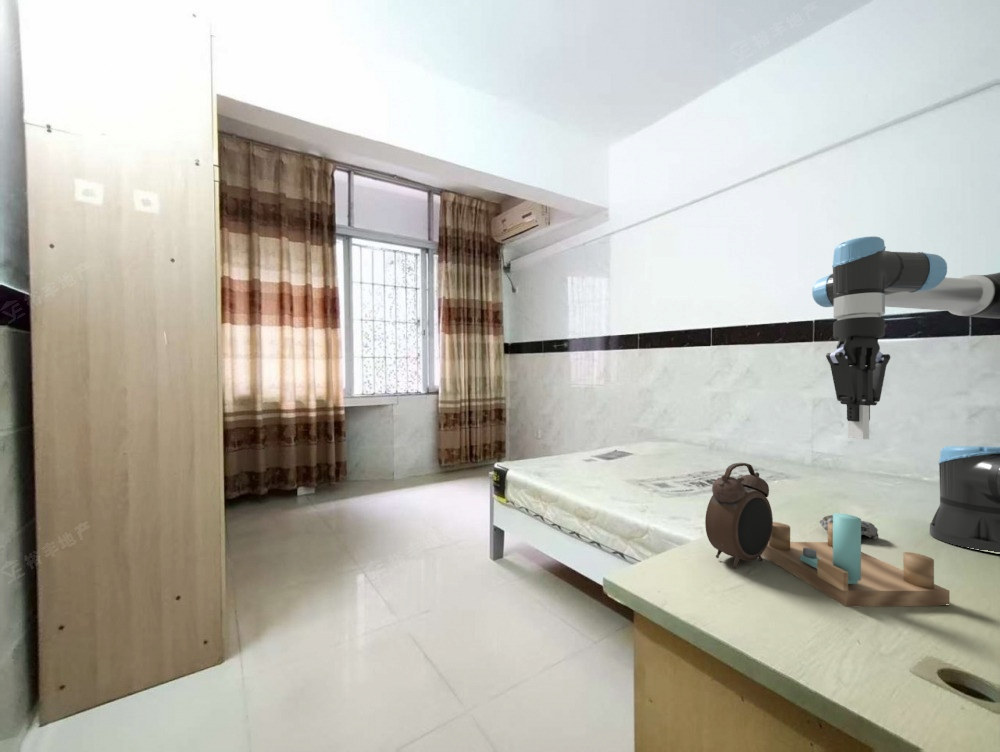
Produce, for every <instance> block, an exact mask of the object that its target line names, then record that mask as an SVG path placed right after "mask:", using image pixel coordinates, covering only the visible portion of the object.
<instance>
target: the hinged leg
mask: <svg viewBox="0 0 1000 752" xmlns="http://www.w3.org/2000/svg"><path fill="white" fill-rule="evenodd" d="M832 515H833V565H834V566H836V567H838V568H840V569H842V570H844V571H846V572H848V584H858V581H860V580H861V552H862V535H861V521H862V518H860V517H858V516H856V515H851V514H848V513H841V512H839V513H838V512H836V513H832ZM817 559H820V558H818V557H817V551H816V550H814V549H810V548H803V555H800V560H802V561H803V562H805V563H807V564H809V565H811V566H812V567H814V568H816V569H817Z"/></svg>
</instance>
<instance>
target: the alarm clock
mask: <svg viewBox="0 0 1000 752" xmlns="http://www.w3.org/2000/svg"><path fill="white" fill-rule="evenodd" d="M738 467H746V468H747V470H748V473H749V474H743V475H741V476H740V477H737V478H736V477H733V476H731V474H732V472H733V470H735V469H736V468H738ZM711 491H712V496H711V497H710V500H709V502H708V504H707V507H706V511H705V519H704V520H705V522H704V524H705V532H706V536H707V539H708V541H709V543H710V545H712V547H713V548H714V549H716V550H717V553H716V555H715V558H716V559H719V558H720V555H721V554H722V553H724V554H725V555H727V556H730V557H733V558H734V561H733V564H732V567H733V568H734V569H737V565H738V564H739V561H740V560H742V561H748V562H752V561H755V560H757V559H758V560H759V561H760V562H761V561H763V557H762V555H761V554H762V553H763V552H764V550H765V549H766V547H767V545H768V543H769V540H770V537H771V533H772V527H773V522H774V518H773V512H772V507H771V504H770V501H769V499H768V497H769V495H770V487H769V484H768V482H767V481H766V480H764V479H763V478H762V477H760V472H758V471H756V472H755V470H754V467H753V466H752V465H751V463H750V464H749V463H746V462H736V463H735V462H734V463H732V464H731V465H728V466H727V468H726V470H725V472H724V474H723V475H721V477H717V479H715V481H713V483H712V486H711Z"/></svg>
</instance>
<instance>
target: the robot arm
mask: <svg viewBox="0 0 1000 752" xmlns="http://www.w3.org/2000/svg"><path fill="white" fill-rule="evenodd" d="M832 259H833V260H832V265H831V267H832V273H831V274H829V275H827V276H825V277H822V278H819V279H818V280H816V282H814V284H813V286H812V294H811V296H812V298H813V300H814V302H815V303H816V304H817V305H818V306H821V307H823V308H831V307H832V308H833V319H835V321H834V322H833V325H832V326H833V327H832V328H833V329H832V330H833V331H832V333H833V334H832V337H833V339H834V340H838V342H837V345H836V350H835V351H833V352H827V353H826V355H825V357H826V360H827V362H828V364H829V366H830V371H831V375H832V381H833V386H834V390H835V396H836V400H837V401H838V402H839V403H840V404H841V405H846V420H847V438H851V439H856V440H857V439H859V440H870V419H871V406H876V405H878V402H880V401H881V396H882V390H883V387H884V386H883V385H884V380H885V376H886V368H887V365H888V363H889V362H890V360H891V354H889V353H882V352H881V351H880V350H881V347H880V344H879V339H880V338H883V337H884V336H885V334H886V327H885V326H886V319H885V318H884V317H882V316H885V314H886V308H887V307H888V308H899V309H900V308H904V309H916V310H917V309H918V310H919V309H920V310H932V311H933V310H934V311H935V310H936V311H948V312H949V313H950V314H952V315H954V316H955V315H956V316H962V317H973V318H985V319H986V318H987V319H1000V272H995V273H990V274H983V275H982V274H968V275H965V276H962V277H960V278H959V277H946V276H947V273H948V263H947V261H946V260H945V258H943V256H940V255H938V254H936V253H927V252H924V251H922V252H921V251H916V252H910V251H890V250H886V246H885V240H884V239H883V238H881V237H879V236H874V235H873V236H862V237H858V238H857V237H856V238H852V239H849V240H846V241H843V242H842V243H840V244H838V245H837V246H835V248H834V251H833V258H832ZM938 466H939V468H938V469H939V471H938V473H939V506H938V508H937V510H936V512H935V513H934V516H933V518H932V519H931V522H930V524H929V535H930V536H931V537H933V538H934V539H937V540H938V541H940V542H944V543H946V544H949V543H950V545H952V544H953V545H952V546H956V545H958V546H957V547H959V546H962V547H961V548H963V547H969V548H974V549H979V550H988V551H994V552H1000V446H976V445H975V446H969V445H968V446H967V445H964V446H963V445H961V446H959V445H948V446H945V447H942V448H941V450H940V453H939V461H938Z"/></svg>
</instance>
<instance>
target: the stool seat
mask: <svg viewBox="0 0 1000 752" xmlns="http://www.w3.org/2000/svg"><path fill="white" fill-rule="evenodd" d="M803 548H810V549H814V550H816V551H817V557H818V558H820V559H817V569H816V568H814V567H812V566H811V565H809V564H807V563H805V562H803V561H802V560H800V555H803ZM762 556H763V557H764V558H766V559H768V561H770V562H772V563H774V564H775V565H777V566H778V567H781V569H784V570H785V571H787V572H788V573H790V574H791V575H794V576H795V577H797V578H798V579H800V580H802V581H804V582H805V583H807V584H809V585H810V586H812V587H814V588H815V589H817V590H818V591H821V593H823V594H825V595H827V596H828V597H830V598H831V599H832V600H834V601H835V600H836V601H837V603H840V604H842V605H843V606H845V607H846V608H847V607H940V606H939V605H946V604H950V599H951V598H950V590H949V589H947V588H945V587H942V586H940V585H938V584H935V560H934V558H932V557H930V556H928V555H924V554H921V553H916V552H910V551H909V552H907V551H905V552H903V558H902V560H903V563H902V564H903V567H902V568H903V569H901V568H899V567H896V566H895V565H892V564H890V563H887V562H885V561H883V560H881V559H878V558H876V557H873V556H871V555H869V554H867V553H865V552H863V551H861V580H860V581H858V584H848V572H846V571H844V570H842V569H840V568H838V567H836V566H834V565H833V522H830V523H828V532H827V541H808V542H807V541H791V526H790V525H789V524H786V523H782V522H776V521H773V527H772V533H771V537H770V540H769V543H768V545H767V547H766V549H765V550H764V552H763V553H762V554H761V557H762ZM950 605H951V604H950Z"/></svg>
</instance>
